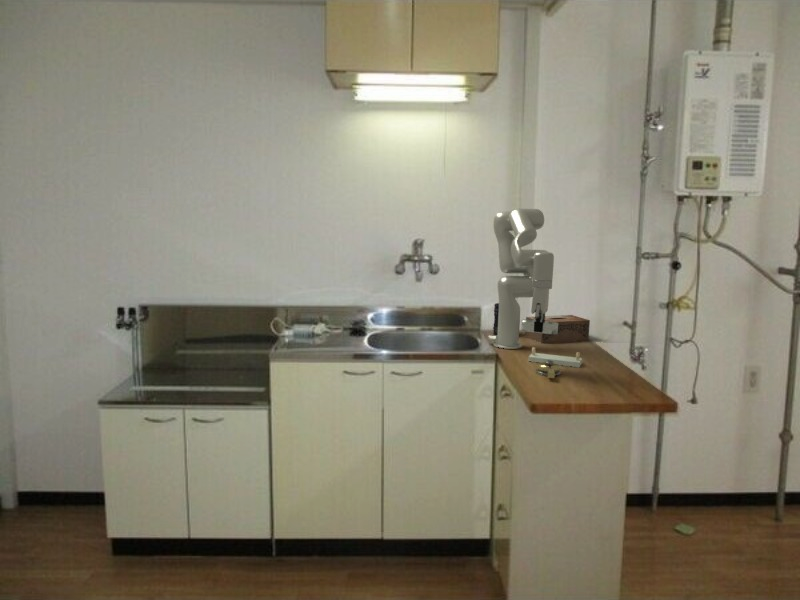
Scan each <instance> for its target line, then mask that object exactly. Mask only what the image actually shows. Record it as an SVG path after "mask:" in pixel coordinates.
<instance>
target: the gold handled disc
mask: <svg viewBox="0 0 800 600" xmlns="http://www.w3.org/2000/svg"><path fill="white" fill-rule="evenodd" d="M560 367H561V365H558V364H555V363H553V361H545V362H543V363H537V369H538V370H539V371H541V372H545V373H547V376H546V377H547V378H548V379H555V377H556V376H555V373H558V372H559V371H561V369H560Z"/></svg>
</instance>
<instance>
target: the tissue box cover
mask: <svg viewBox="0 0 800 600" xmlns="http://www.w3.org/2000/svg"><path fill="white" fill-rule="evenodd" d="M525 319H527V320H535V316H526V317H525ZM545 321H548V322H556V323H558V334H545V333H536V332H526V331H524V335H525V336H526V337H525V336H524V337H525V338H527V337H528V338H527V339H529V338H531V339H530V340H532V339H533V340H532V341H534V340H536V341H535V342H537V341H538V343H539V342H541V343H540V344H549V343H548V342H553V343H561V342H560V341H570V342H576V341H575V340H586V341H589V337H590V336H589V335H590V326H591V325H590V323H591V322H590V321H591V320H589V319H588V318H584V317H580V316H577V315H574V314H562V315H545Z"/></svg>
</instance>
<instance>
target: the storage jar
mask: <svg viewBox="0 0 800 600" xmlns="http://www.w3.org/2000/svg"><path fill="white" fill-rule="evenodd" d="M493 308H494V309H493V315H494V316H493V319H494V321H493V326H492V328H493V329H492V331H493V333H492V334H493V335H492V336H495V335H498V314H499V302H497V303H494V307H493Z"/></svg>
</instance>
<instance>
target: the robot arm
mask: <svg viewBox="0 0 800 600" xmlns="http://www.w3.org/2000/svg"><path fill="white" fill-rule="evenodd" d="M544 224H545V216H544V213H543V211H542V210H541V209H538V208H517V209H514V210H512V211H511V210H510V211H501V212H500V211H499V212H497V213H496V214H495V215H494V218H493V231H494V234H495V239H496V241H497V246H498V261H499V263H498V264H499V269H500V271H501V272H502V273H504V274H521V275H505V276H501V277H500V278H499V279H498V281H497V294H498V303H499V314H498V335H496V336H495V335H491V334H490V335H488V337H487V339H488V340H489V341H494V342H493V346H494V347H496V348H498V347H499V348H498V349H503V348H504V349H505V350H506V349H507V350H517V349H522V348H523V344H522V343H521V342H520V329H521V328H520V327H521V326H520V323H521V306H520V304H519V302H518V301H517V300H516V299H518V298H531V299H532V300H531V311H530V313H531V314H532V315H533V314H534V317H535V321H534V332H542V330H543V322H542V321H545V316H546V313H547V312H548V309H549V299H550V297H549V295H550V290H552V289H553V280H554V279H553V278H554V263H555V262H554V261H555V256H554V253H553V252H549V251H548V250H545V249H522V248H523V247H525V246H528V245H530V244H532V243H533V242H535V240H536V239H537V236H538V234H537V230H540V229H541V228H543V227H544ZM511 232H513V233H514V235H513V233H511Z"/></svg>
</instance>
